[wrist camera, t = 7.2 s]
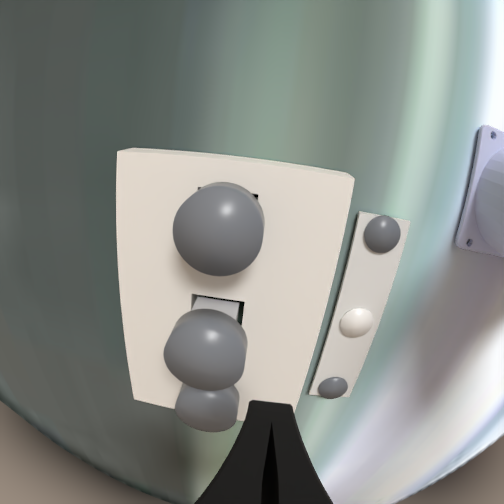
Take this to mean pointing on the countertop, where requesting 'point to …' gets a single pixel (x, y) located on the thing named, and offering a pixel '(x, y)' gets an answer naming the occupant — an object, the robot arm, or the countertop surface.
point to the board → (233, 286)
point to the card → (360, 302)
